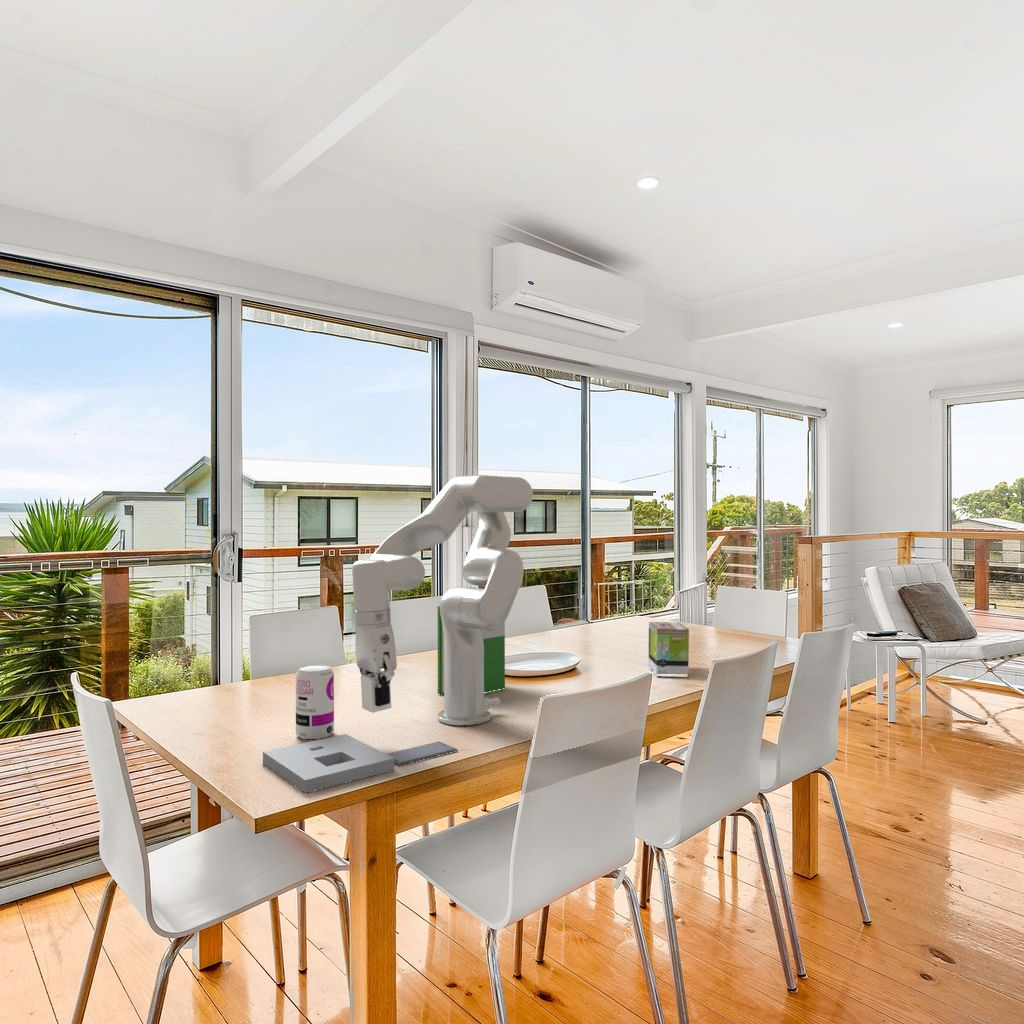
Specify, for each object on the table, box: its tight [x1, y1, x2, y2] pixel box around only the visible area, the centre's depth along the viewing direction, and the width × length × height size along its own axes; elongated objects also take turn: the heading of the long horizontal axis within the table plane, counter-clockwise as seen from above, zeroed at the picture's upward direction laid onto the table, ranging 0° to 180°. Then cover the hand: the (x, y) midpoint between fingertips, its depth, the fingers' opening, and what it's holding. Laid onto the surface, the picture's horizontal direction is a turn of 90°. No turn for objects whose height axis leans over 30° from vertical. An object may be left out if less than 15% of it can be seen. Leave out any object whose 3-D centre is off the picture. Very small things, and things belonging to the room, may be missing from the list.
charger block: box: [360, 673, 392, 714], centre depth 158 cm, size 4×4×7 cm
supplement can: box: [295, 664, 335, 741], centre depth 165 cm, size 8×8×15 cm
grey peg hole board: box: [262, 733, 395, 794], centre depth 144 cm, size 18×20×3 cm
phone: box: [386, 740, 459, 767], centre depth 152 cm, size 14×7×1 cm, turn 129°
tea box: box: [647, 621, 690, 676], centre depth 228 cm, size 15×10×15 cm
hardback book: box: [437, 605, 506, 695], centre depth 203 cm, size 18×7×24 cm, turn 131°
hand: (376, 701), depth 158 cm, fingers closed on charger block, 4 cm apart
